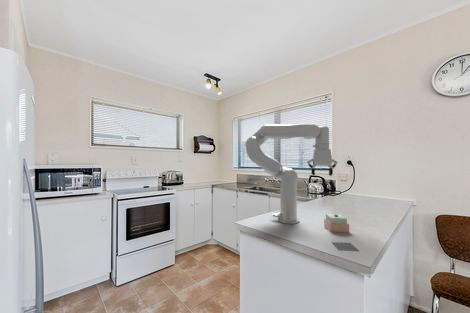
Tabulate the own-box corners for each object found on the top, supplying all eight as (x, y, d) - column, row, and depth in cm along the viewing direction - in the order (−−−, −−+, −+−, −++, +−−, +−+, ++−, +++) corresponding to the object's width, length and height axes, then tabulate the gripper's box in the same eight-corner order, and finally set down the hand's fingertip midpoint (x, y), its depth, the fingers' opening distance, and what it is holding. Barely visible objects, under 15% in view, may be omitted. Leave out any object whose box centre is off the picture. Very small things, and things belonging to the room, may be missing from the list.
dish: (330, 232, 100) (330, 223, 100) (324, 226, 109) (324, 218, 109) (349, 233, 99) (349, 224, 99) (341, 227, 108) (341, 219, 108)
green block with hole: (331, 223, 101) (331, 216, 101) (326, 218, 108) (325, 212, 108) (346, 223, 100) (346, 217, 100) (340, 219, 107) (340, 213, 107)
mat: (338, 251, 79) (338, 250, 79) (330, 243, 87) (330, 241, 87) (359, 252, 79) (359, 251, 79) (350, 243, 87) (350, 242, 87)
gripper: (308, 146, 118) (308, 175, 118) (339, 146, 116) (339, 176, 115) (305, 147, 126) (305, 174, 126) (335, 147, 123) (335, 175, 123)
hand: (321, 175), depth 121 cm, fingers open, 9 cm apart
